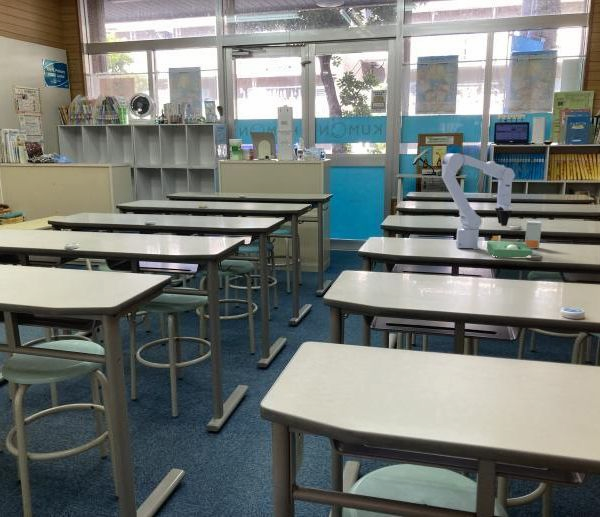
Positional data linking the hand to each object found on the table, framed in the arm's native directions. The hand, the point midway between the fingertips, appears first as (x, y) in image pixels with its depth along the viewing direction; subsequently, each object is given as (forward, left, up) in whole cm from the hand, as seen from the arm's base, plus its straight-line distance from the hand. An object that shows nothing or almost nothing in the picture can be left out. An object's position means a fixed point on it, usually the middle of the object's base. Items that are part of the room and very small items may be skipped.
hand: (502, 224), depth 245 cm
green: (+1, -15, -10) cm, 18 cm away
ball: (+1, -21, -8) cm, 22 cm away
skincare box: (+14, +1, -11) cm, 17 cm away
